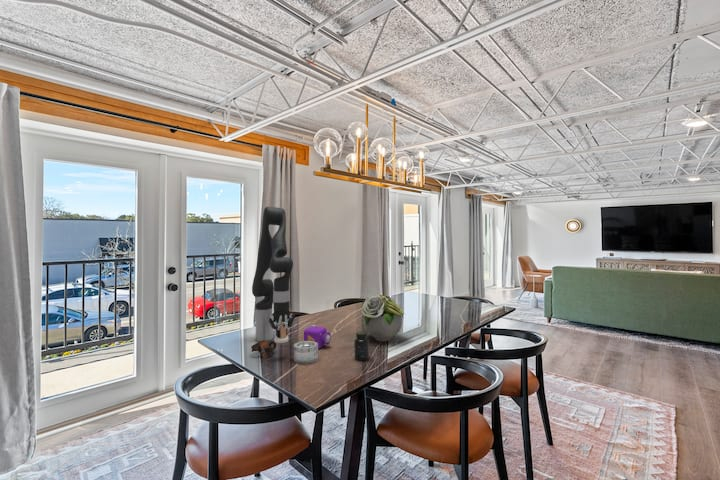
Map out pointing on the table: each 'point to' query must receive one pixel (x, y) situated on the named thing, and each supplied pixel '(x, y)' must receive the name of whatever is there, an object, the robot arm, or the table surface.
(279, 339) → the knob lid with grip
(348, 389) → the table surface
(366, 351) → the supplement bottle
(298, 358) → the glass candle holder
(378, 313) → the flower arrangement
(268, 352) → the brown teapot
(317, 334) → the toy camera
